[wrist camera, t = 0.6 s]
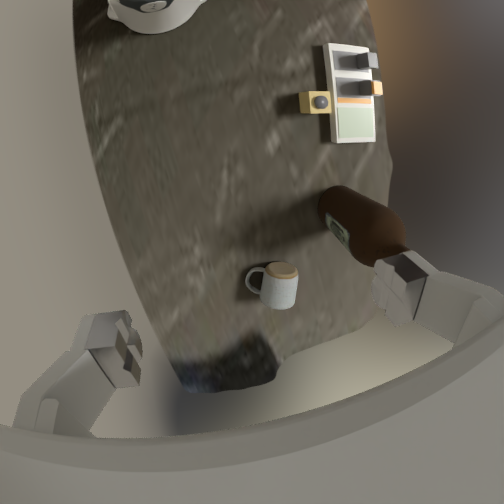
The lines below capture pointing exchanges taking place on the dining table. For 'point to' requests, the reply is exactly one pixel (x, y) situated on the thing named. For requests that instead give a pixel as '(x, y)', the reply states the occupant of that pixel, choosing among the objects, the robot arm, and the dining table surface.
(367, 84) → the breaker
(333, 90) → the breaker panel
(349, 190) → the olive oil
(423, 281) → the robot arm
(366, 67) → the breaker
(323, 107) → the tan block with knob
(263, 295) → the ceramic mug
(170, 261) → the dining table surface
